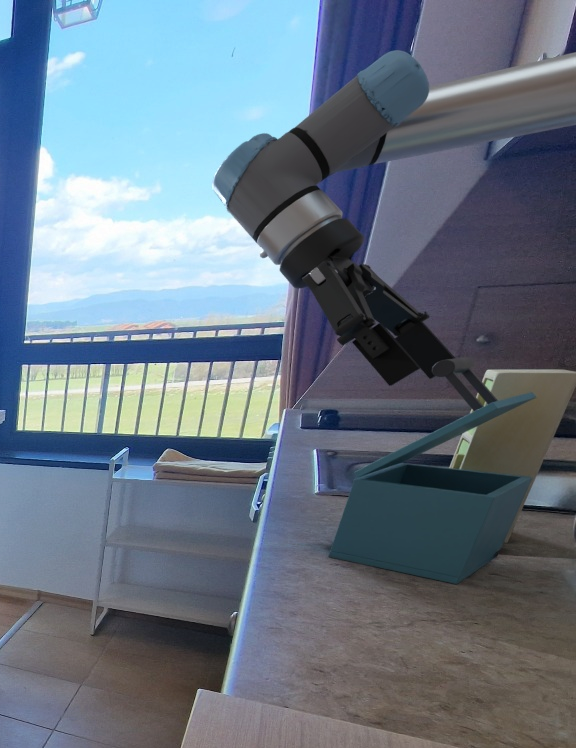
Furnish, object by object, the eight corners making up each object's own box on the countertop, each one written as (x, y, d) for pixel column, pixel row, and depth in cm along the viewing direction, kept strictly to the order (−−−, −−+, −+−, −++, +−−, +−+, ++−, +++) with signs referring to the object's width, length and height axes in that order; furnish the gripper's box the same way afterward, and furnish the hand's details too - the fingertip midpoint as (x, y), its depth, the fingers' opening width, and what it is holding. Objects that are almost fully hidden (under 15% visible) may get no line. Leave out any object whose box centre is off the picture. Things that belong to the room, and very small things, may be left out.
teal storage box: (497, 556, 76) (533, 477, 72) (456, 584, 69) (494, 497, 65) (375, 534, 85) (401, 462, 82) (327, 556, 78) (354, 478, 74)
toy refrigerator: (417, 526, 88) (479, 368, 80) (493, 534, 84) (566, 368, 76) (423, 540, 83) (490, 372, 74) (504, 550, 78) (584, 372, 70)
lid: (536, 397, 71) (491, 345, 73) (497, 408, 63) (448, 350, 65) (404, 461, 81) (367, 414, 83) (357, 477, 74) (318, 425, 76)
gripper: (319, 271, 87) (422, 389, 82) (232, 265, 75) (346, 404, 70) (381, 221, 81) (498, 345, 75) (298, 207, 69) (429, 353, 63)
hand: (425, 374), depth 72 cm, fingers open, 13 cm apart
